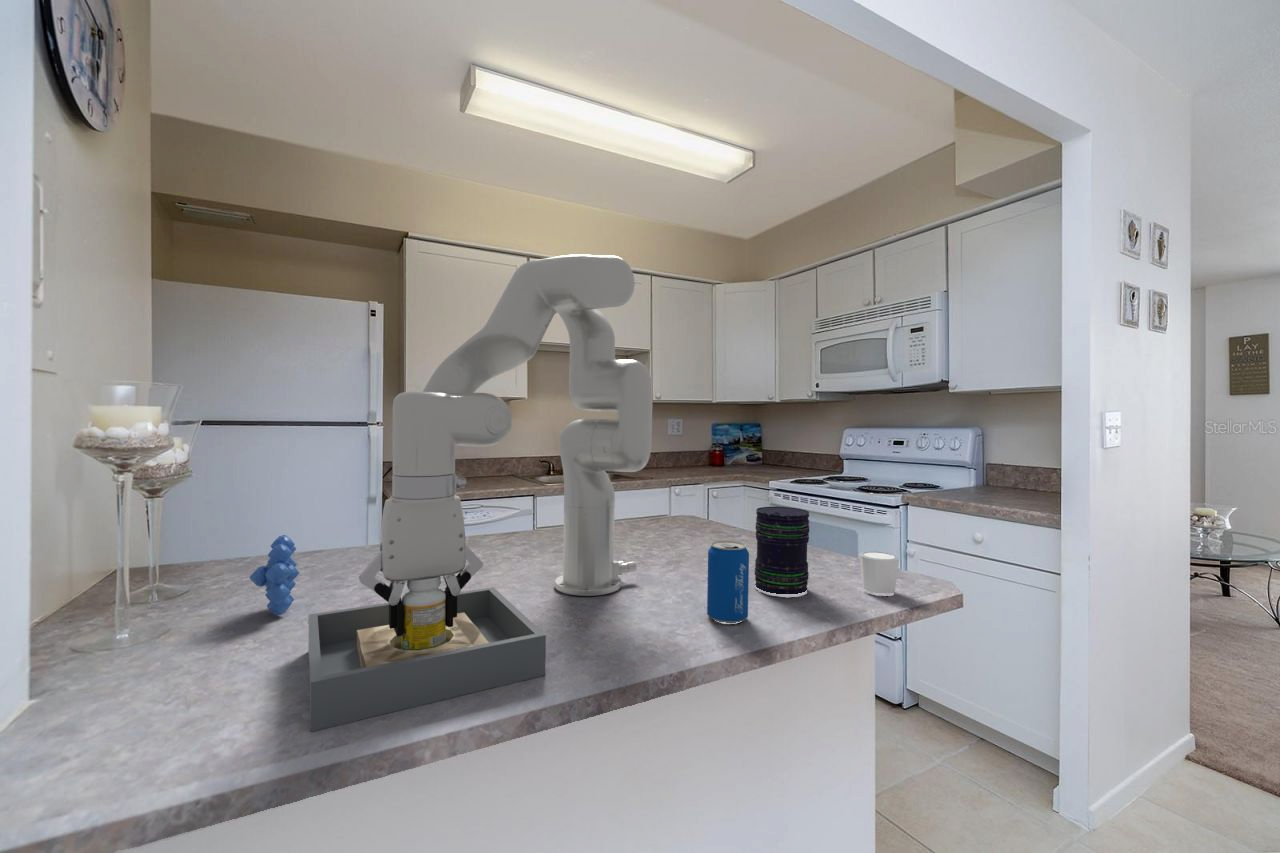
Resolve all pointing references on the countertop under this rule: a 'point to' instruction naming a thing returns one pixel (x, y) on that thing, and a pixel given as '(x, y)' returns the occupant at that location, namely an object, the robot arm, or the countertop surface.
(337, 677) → the open box
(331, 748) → the countertop surface
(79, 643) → the countertop surface
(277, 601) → the grapes
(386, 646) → the bore plate
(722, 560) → the beverage can
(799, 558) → the storage jar
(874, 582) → the white short cylinder
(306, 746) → the countertop surface
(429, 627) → the supplement bottle
